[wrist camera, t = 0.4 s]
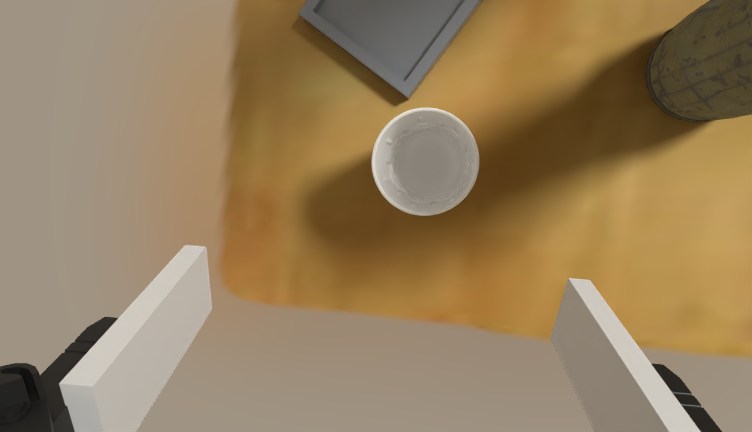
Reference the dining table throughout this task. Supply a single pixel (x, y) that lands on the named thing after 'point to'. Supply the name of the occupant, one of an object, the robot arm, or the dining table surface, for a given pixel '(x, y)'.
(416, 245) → the dining table surface
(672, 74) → the thermos
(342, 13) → the charcoal tray
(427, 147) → the white cup
